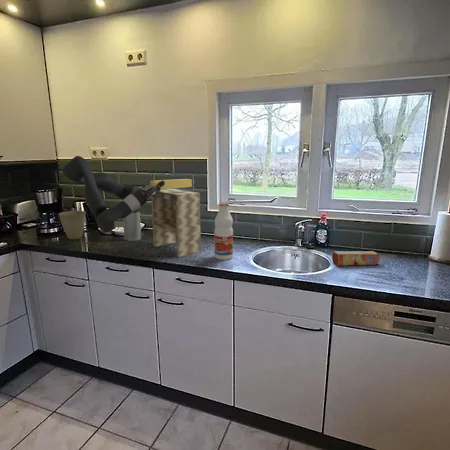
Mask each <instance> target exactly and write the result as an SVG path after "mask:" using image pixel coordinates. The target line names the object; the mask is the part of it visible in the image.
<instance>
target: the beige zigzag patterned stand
mask: <svg viewBox="0 0 450 450" xmlns="http://www.w3.org/2000/svg"><path fill="white" fill-rule="evenodd" d="M150 198H151V199H150V200H151V219H152V240H153V241H152V242H153V244H152V245H153V247H160V246H164V245H165V246H166V245H169V244H173V243H176V256H177V257H185V256H189V255H192V254H196V253H197V254H198V253H201V247H202V245H201V243H202V241H201V193H200V192H198V191H197V192H196V191H190V190H185V189H179V188H169V189H161V190H160V191H159V192H158V193H157V194H156V195H155V196H153V195H152V196H150Z"/></svg>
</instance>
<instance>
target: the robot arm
mask: <svg viewBox="0 0 450 450" xmlns="http://www.w3.org/2000/svg"><path fill="white" fill-rule="evenodd" d="M61 172H62V175H64V176H65V177H66V178H67V179H68V180H69V181H72V182H74V183H79V184H81V185H82V184H83V185H84V199H85V200H84V201H85V203H86V204H87V207H88V208H89V210H90V212H91V213H92V215H93V218H94V220H95V222H96V224H97V226H98V227H97V228H99V230H100V231H101V232H103V233H110V232H112V231H113V230H114V226H115V223H114V221H116V220H117V219H119V218H120V219H124V221H125V224H124V225H123V228H124V234H123V240H124V241H127V242H136V241H140V240H142V230H141V228H142V227H141V207H142V206H144V205H145V204H146V203H147V202H148V198H151V196H152V195H153V196H155V195H156V194H157V193H158V192H159V191H160V190H162V189H160V187H162V186H163V185H165V182H164V181H163V180H164V179H161V180H162V181H161V182H159V183H158V184H156V185H155V186H151V183H148V184H145V185H144V186H142V187H139V186H138V185H135V184H134V185H133V184H132V185H129V184H123V183H119V182H118V181H117V179H116V178H115V177H114V176H112V175H110V174H108V173H106V172H93V170H92V167H91V165H90V164H89V162H88V161H87V160H86V159H85V158H84V157H82V156H80V155H76V156H74V157H73V158H71V159H70V160H69V161H68V162H67V163H66V164H64V165H63V166H62V169H61ZM99 190H100V191H103V192H104V193H108V194H112V195H114V196H116V197H117V198H120V199H122V201H120V202H119V203H117V204H116V205H115V206H111V207H109V208H108V207H107V204H106V203H105V200H104V199H103V197H102V195H101V193H100V191H99Z"/></svg>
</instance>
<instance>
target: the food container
mask: <svg viewBox="0 0 450 450" xmlns="http://www.w3.org/2000/svg"><path fill="white" fill-rule="evenodd" d="M114 223H115V226H114V227H123V225H124V224H125V221H124V219H120V218H119V219H117V220H116V221H114Z"/></svg>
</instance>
